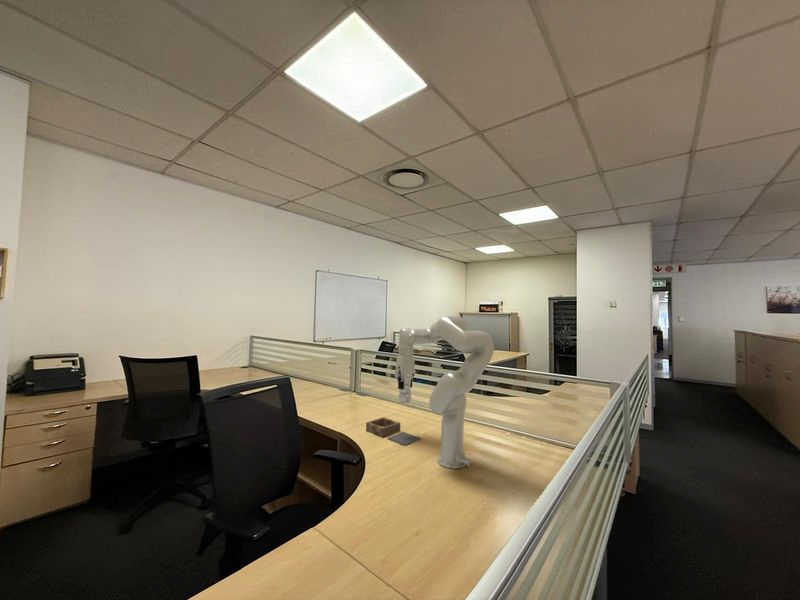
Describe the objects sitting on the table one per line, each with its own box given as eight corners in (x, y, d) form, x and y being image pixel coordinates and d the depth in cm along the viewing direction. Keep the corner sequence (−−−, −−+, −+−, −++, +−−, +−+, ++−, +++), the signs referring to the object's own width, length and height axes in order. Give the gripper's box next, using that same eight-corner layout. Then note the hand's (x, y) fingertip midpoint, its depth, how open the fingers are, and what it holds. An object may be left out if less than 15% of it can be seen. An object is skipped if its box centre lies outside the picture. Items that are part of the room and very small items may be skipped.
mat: (420, 439, 165) (420, 438, 165) (405, 446, 156) (405, 444, 156) (403, 432, 173) (403, 431, 173) (387, 439, 164) (387, 437, 164)
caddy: (400, 431, 175) (400, 422, 175) (383, 438, 165) (383, 429, 165) (383, 425, 184) (383, 417, 184) (366, 431, 174) (366, 422, 174)
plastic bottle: (403, 400, 170) (404, 361, 170) (413, 402, 165) (414, 363, 166) (395, 402, 165) (396, 363, 165) (406, 405, 160) (406, 364, 161)
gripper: (411, 350, 175) (410, 384, 174) (389, 353, 162) (388, 389, 161) (422, 352, 170) (421, 386, 169) (400, 354, 157) (399, 392, 156)
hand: (405, 387), depth 165 cm, fingers closed on plastic bottle, 6 cm apart
